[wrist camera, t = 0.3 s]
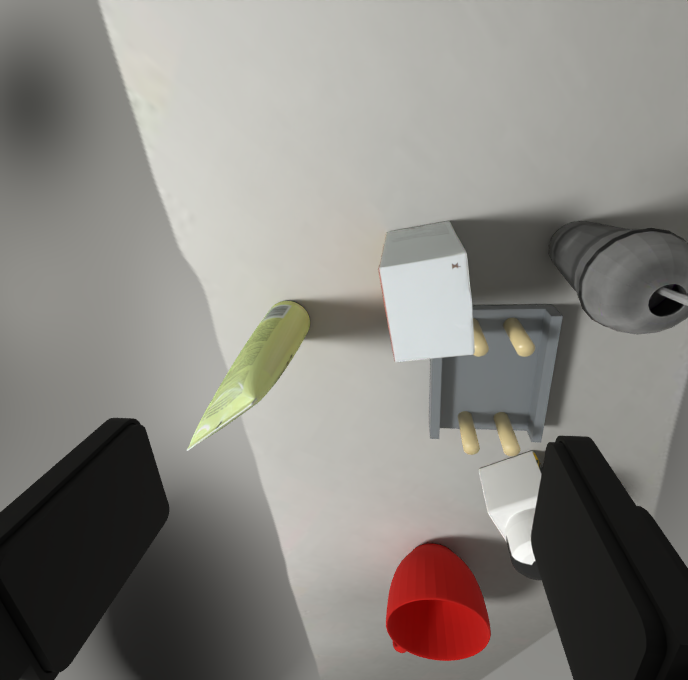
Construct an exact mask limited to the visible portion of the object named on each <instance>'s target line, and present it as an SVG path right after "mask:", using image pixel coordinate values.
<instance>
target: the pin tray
mask: <svg viewBox="0 0 688 680" xmlns="http://www.w3.org/2000/svg"><path fill="white" fill-rule="evenodd" d="M472 310H473V329H474V345H475V353H474V354H473V355H464V356H454V357H443V358H433V359H430V394H429V429H430V439H439V429H440V428H456V429H460V432H461V438H462V443H463V448H464V451H465V452H466V453H467V454H470V455H473V454H476V453H478V451H479V449H480V448H479V443H478V439H477V435H476V431H475V429H490V430H497V431H498V434H499V437H500V441H501V444H502V447H503V450H504V453H505V454H506V455H508V456H515V455H517V454H519V452H520V447H519V444H518V441H517V439H516V436H515V433H514V431H513V430H524V431H527V432H528V435H529V437H530V439H531V442H541V440H542V434H543V428H544V423H545V417H546V411H547V405H548V399H549V393H550V388H551V382H552V376H553V370H554V364H555V358H556V353H557V347H558V341H559V335H560V329H561V323H562V317H563V316H562V315H561V314H560V313H559V312H558V311H557V309H556V308H555V307H554V306H553V305H552V304H547V305H488V306H472Z"/></svg>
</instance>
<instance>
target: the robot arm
mask: <svg viewBox="0 0 688 680" xmlns="http://www.w3.org/2000/svg"><path fill="white" fill-rule="evenodd" d="M168 515H169V504H168V501H167V498H166V495H165V491H164V488H163V485H162V481H161V478H160V475H159V472H158V468H157V465H156V462H155V459H154V455H153V452H152V448H151V445H150V442H149V439H148V435H147V432H146V429H145V427H143V426H142V425H140V423H139V421H137V420H136V419H131V418H111V419H109V420H107V421H106V422H105V423H103V424H102V425H101V426H100V427H99V428H98V429H97V430H95V431H94V432H93V433H92V434H91V435H90V436H88V437H87V438H86V439H85V440H84V441H82V442H81V443H80V444H79V445H78V446H77V447H76V448H74V449H73V450H72V451H71V452H70V453H69V454H67V455H66V456H65V457H64V458H63V459H62V460H60V461H59V462H58V463H57V464H56V465H55V466H53V467H52V468H51V469H50V470H49V471H48V472H47V473H46V474H44V475H43V476H42V477H41V478H40V479H38V480H37V481H36V482H35V483H34V484H33V485H31V486H30V487H29V488H28V489H27V490H26V491H25V492H23V493H22V494H21V495H20V496H19V497H18V498H16V499H15V500H14V501H13V502H12V503H11V504H9V505H8V506H7V507H6V508H5V509H4V510H3V511H1V512H0V680H54V679H55V678H56V676H57V675H58V674H59V672H61V671H63V670H65V669H66V668H67V667H68V666H69V665H70V664H71V662H72V661H73V659H74V658H75V657H76V655H77V654H78V652H79V651H80V649H81V648H82V646H83V644H84V643H85V642H86V640H87V639H88V637H89V636H90V634H91V633H92V631H93V630H94V628H95V627H96V625H97V624H98V622H99V621H100V619H101V618H102V616H103V615H104V613H105V612H106V610H107V609H108V607H109V606H110V604H111V603H112V601H113V600H114V598H115V597H116V595H117V594H118V592H119V591H120V589H121V588H122V586H123V585H124V583H125V582H126V580H127V579H128V577H129V576H130V574H131V573H132V571H133V570H134V569H135V567H136V566H137V564H138V563H139V561H140V560H141V558H142V557H143V555H144V554H145V552H146V551H147V549H148V548H149V546H150V545H151V543H152V541H153V540H154V539H155V537H156V536H157V534H158V532H159V531H160V530H161V528H162V527H163V525H164V524H165V522H166V520H167V518H168ZM531 546H532V551H533V554H534V557H535V560H536V564H537V567H538V570H539V573H540V576H541V579H542V582H543V585H544V589H545V592H546V595H547V598H548V601H549V604H550V607H551V610H552V613H553V617H554V620H555V623H556V626H557V629H558V632H559V635H560V638H561V642H562V645H563V648H564V651H565V654H566V657H567V660H568V663H569V666H570V670H571V672H572V676H573V679H574V680H688V568H687V567H686V565H685V564H684V562H683V561H682V559H681V558H680V557H679V555H678V553H677V552H676V551H675V549H674V548H673V546H672V545H671V543H670V542H669V541H668V539H667V537H666V536H665V535H664V533H663V532H662V530H661V529H660V527H659V526H658V524H657V523H656V521H655V520H654V519H653V517H652V516H651V515H650V514H649V513H648V511H647V510H645V509H644V508H642V507H640V506H636V505H635V503H634V502H633V500H632V499H631V497H630V496H629V494H628V493H627V491H626V490H625V488H624V487H623V485H622V484H621V482H620V481H619V479H618V478H617V476H616V475H615V473H614V472H613V470H612V469H611V467H610V466H609V464H608V463H607V461H606V460H605V458H604V457H603V455H602V454H601V452H600V450H599V449H598V447H597V446H596V444H595V443H594V441H593V440H592V439H591V438H589V437H581V436H558V437H557V439H556V442H549V443H548V444H547V447H546V452H545V458H544V463H543V469H542V474H541V480H540V486H539V491H538V497H537V502H536V508H535V514H534V519H533V525H532V530H531Z"/></svg>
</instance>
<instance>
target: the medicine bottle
mask: <svg viewBox="0 0 688 680" xmlns="http://www.w3.org/2000/svg"><path fill="white" fill-rule="evenodd" d="M542 469H543V467H542V465H541V463H540V461H539V460H538V458H537V456H536V454H535V453H534V452H533V451H530V452H527V453H524V454H521V455H518V456H515V457H512V458H509V459H506V460H504V461H501V462H498V463H495V464H492V465H489V466H486V467H483V468H480V469H479V475H480V479H481V484H482V488H483V493H484V497H485V502H486V507H487V511H488V514H489V516H490V517H491V519H492V520H493V522H494V523H495V525H496V527H497V528H498V530H499V531H500V533H501V534H502V536H503V537H504V539H505V540H506V542H507V545H508V549H509V553H510V557H511V561H512V564H513V566H514V568H515V569H516V570H517V571H518V572H520V573H521V574H522V575H524V576H526V577H528V578H531V579H535V580H542V579H541V576H540V573H539V570H538V567H537V564H536V560H535V557H534V554H533V551H532V546H531V530H532V525H533V519H534V514H535V508H536V502H537V497H538V491H539V486H540V480H541V474H542Z"/></svg>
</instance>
